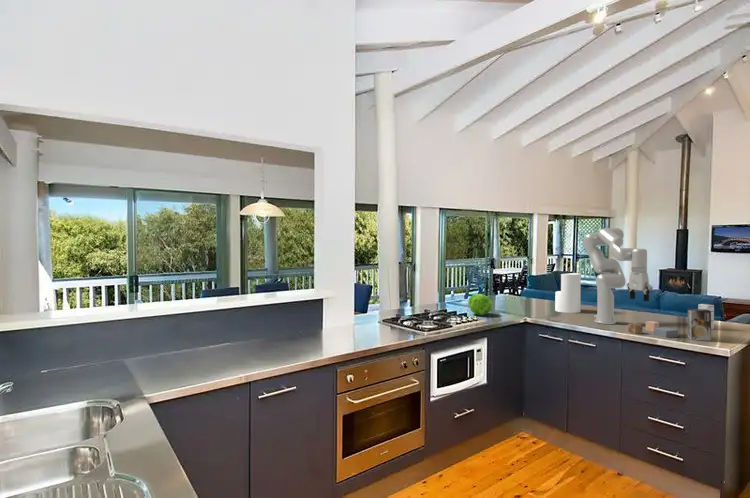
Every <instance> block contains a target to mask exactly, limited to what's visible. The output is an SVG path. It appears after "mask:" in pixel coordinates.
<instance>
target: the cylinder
mask: <svg viewBox="0 0 750 498" xmlns="http://www.w3.org/2000/svg"><path fill="white" fill-rule="evenodd" d="M581 275H582V274H581V273H579V272H578V273H577V272H572V273H561V274H560V290H557V291H555V295H554V297H555V298H554V299H555V300H554V305H555V306H554V308H555V309H554V311H555V312H559V313H567V314H577V313H581V305H582V304H581V297H582V296H581V290H582V289H581V287H582V286H581V285H582V284H581V283H582V282H581V279H582V278H581V277H582V276H581Z"/></svg>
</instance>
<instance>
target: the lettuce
mask: <svg viewBox="0 0 750 498" xmlns="http://www.w3.org/2000/svg"><path fill="white" fill-rule="evenodd" d="M467 304H468V308H469V310H470V311H471V312H472V313H473V314H475V315H476V314H477V315H476V316H484V315H487V314H488V313H489V312H490V311H492V307H493V302H492V300H491V299H490V298H489V296H487V295H485V294H482V293H476V294H472V295H471V296H470V297H469V299H468V300H467Z"/></svg>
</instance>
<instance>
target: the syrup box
mask: <svg viewBox="0 0 750 498" xmlns="http://www.w3.org/2000/svg"><path fill="white" fill-rule="evenodd" d="M697 309H707V310H710V311H711V330H714V328H715V322H714V321H715V305H714V304H710V303H700V304H699V303H698V306H697Z"/></svg>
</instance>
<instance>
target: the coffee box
mask: <svg viewBox="0 0 750 498" xmlns="http://www.w3.org/2000/svg"><path fill="white" fill-rule="evenodd" d="M687 338H688V339H690V340H691V341H705V342H706V341H707V342H711V341H712V329H711V311H710V310H707V309H698V308H687Z"/></svg>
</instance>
